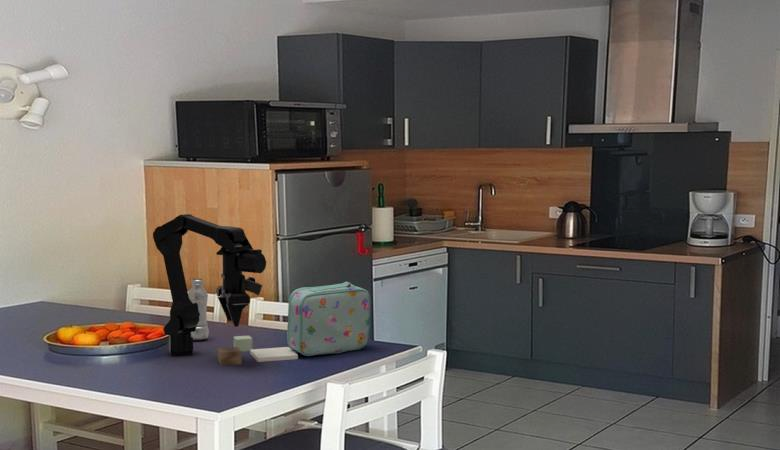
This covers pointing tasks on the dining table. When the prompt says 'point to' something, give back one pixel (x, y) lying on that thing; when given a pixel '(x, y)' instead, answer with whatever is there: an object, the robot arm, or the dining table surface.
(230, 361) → the walnut block
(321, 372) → the dining table surface
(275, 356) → the base board
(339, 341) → the lunch box
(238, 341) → the sage block
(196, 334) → the plastic bottle
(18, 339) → the dining table surface
